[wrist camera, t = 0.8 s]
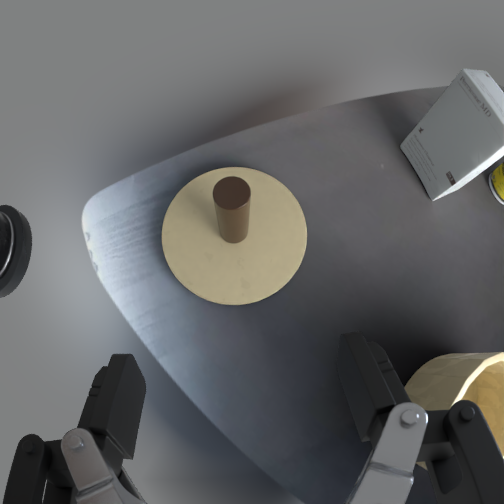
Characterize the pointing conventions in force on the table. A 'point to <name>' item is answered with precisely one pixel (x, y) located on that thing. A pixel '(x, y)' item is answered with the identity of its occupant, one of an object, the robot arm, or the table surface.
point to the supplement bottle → (497, 183)
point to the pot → (463, 386)
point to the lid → (234, 235)
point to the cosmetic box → (458, 134)
